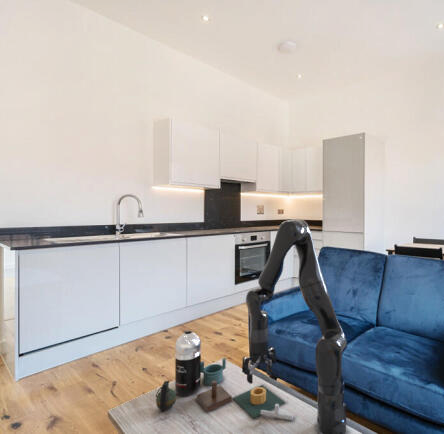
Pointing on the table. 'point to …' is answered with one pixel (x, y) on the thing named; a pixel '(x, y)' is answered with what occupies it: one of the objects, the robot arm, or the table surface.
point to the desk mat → (256, 409)
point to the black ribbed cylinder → (187, 364)
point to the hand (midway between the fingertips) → (259, 378)
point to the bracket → (213, 372)
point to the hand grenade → (165, 397)
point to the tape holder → (214, 397)
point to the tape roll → (258, 395)
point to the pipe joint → (276, 413)
